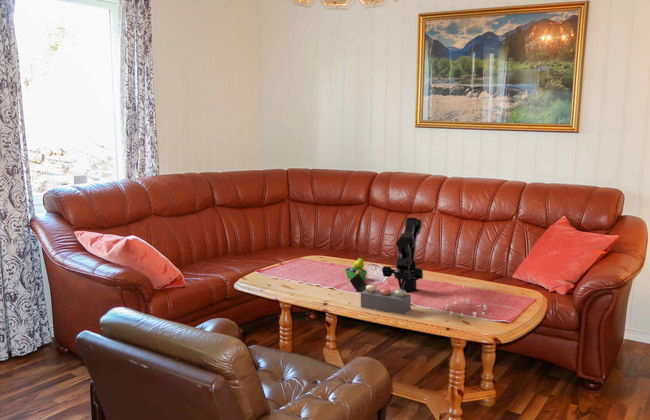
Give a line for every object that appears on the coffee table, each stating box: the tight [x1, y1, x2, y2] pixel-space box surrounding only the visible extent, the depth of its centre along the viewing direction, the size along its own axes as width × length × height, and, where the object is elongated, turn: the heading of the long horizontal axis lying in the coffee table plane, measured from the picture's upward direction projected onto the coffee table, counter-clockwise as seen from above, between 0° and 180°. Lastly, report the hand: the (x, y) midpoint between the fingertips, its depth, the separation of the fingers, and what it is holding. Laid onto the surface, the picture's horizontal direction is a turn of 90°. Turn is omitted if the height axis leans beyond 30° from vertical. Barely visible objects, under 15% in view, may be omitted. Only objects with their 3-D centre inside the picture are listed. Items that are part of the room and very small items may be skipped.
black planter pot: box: [349, 274, 377, 293], centre depth 301 cm, size 13×8×11 cm
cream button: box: [366, 284, 377, 293], centre depth 275 cm, size 5×5×4 cm
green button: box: [394, 288, 406, 298], centre depth 267 cm, size 5×5×4 cm
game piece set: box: [444, 297, 487, 319], centre depth 267 cm, size 19×20×4 cm
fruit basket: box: [344, 257, 368, 281], centre depth 316 cm, size 11×9×11 cm
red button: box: [379, 288, 392, 295], centre depth 271 cm, size 5×5×4 cm
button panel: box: [360, 288, 412, 316], centre depth 272 cm, size 22×8×7 cm, turn 59°
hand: (400, 288), depth 268 cm, fingers closed
